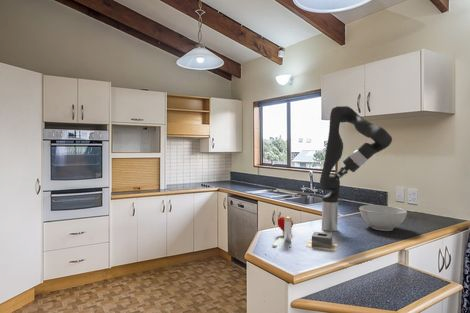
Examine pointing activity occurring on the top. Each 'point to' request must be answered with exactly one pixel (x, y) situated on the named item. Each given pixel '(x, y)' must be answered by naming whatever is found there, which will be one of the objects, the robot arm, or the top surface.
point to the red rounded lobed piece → (281, 223)
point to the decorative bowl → (383, 216)
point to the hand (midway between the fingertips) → (330, 182)
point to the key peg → (287, 229)
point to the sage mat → (277, 242)
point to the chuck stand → (322, 241)
